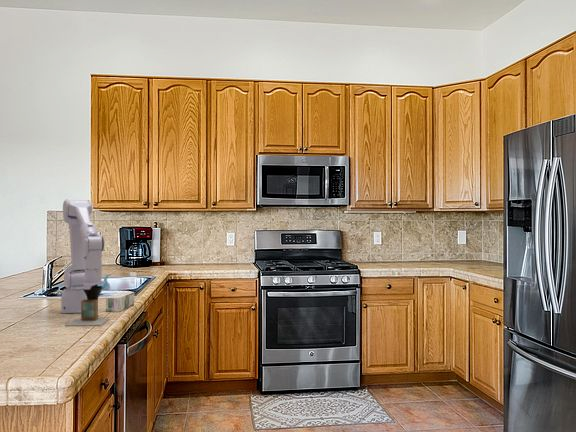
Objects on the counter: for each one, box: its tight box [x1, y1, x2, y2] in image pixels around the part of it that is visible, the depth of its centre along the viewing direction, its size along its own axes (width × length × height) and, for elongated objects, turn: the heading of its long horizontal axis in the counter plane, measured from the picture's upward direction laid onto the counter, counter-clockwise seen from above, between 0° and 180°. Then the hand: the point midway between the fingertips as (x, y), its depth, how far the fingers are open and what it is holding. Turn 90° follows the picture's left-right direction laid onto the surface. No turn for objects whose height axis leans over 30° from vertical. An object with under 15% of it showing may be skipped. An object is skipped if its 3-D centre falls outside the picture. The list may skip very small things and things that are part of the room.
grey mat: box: [64, 318, 110, 327], centre depth 167 cm, size 12×10×1 cm
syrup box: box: [105, 291, 135, 313], centre depth 194 cm, size 6×6×14 cm
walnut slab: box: [80, 298, 99, 321], centre depth 170 cm, size 5×2×7 cm, turn 96°
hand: (92, 306), depth 173 cm, fingers closed
